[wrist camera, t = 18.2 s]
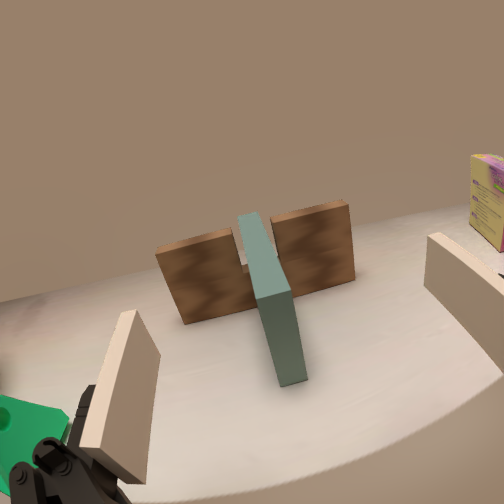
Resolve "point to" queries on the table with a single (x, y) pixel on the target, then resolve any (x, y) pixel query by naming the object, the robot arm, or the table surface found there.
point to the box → (488, 198)
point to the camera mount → (24, 432)
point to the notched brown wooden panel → (238, 276)
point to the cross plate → (273, 301)
